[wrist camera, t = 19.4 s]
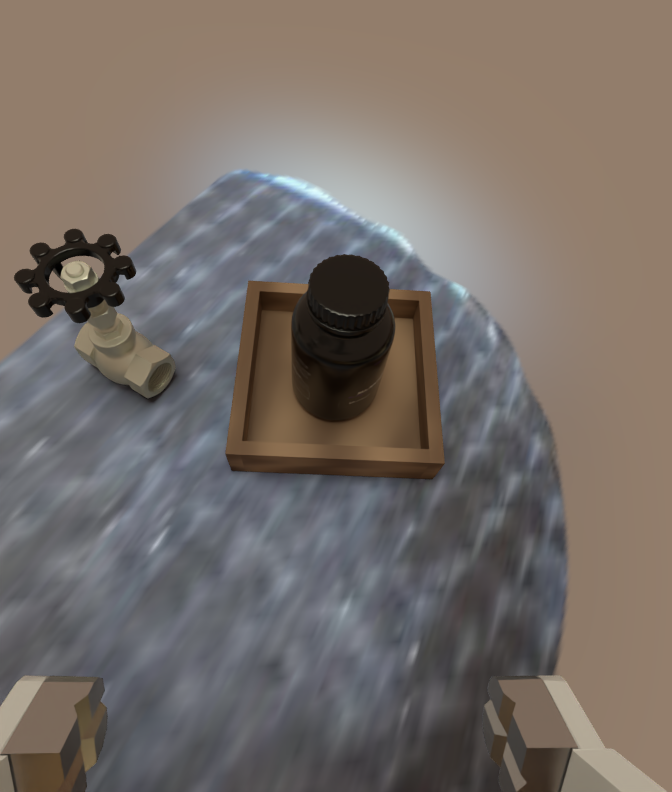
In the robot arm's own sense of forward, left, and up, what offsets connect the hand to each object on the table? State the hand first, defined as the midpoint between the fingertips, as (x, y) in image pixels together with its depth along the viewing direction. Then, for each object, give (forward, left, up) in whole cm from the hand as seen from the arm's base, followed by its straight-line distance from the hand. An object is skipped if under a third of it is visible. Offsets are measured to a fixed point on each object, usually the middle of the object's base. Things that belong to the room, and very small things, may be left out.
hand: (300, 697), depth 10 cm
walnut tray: (+2, +20, -23) cm, 31 cm away
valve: (-15, +21, -23) cm, 34 cm away
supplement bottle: (+2, +20, -22) cm, 30 cm away
